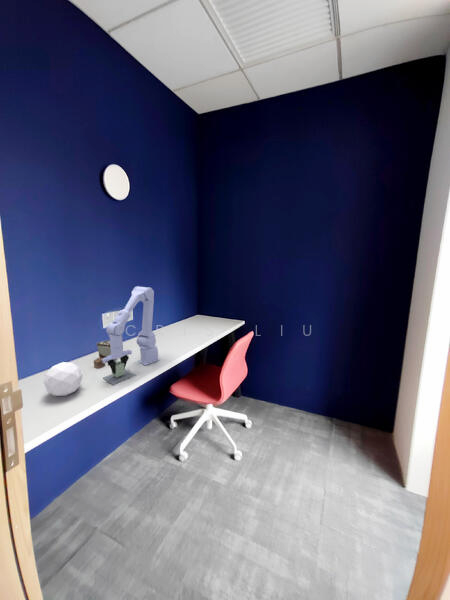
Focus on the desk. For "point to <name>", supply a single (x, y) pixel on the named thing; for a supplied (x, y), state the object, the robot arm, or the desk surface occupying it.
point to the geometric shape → (63, 379)
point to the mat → (118, 378)
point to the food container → (104, 349)
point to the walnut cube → (98, 363)
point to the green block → (119, 369)
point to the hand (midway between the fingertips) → (118, 371)
